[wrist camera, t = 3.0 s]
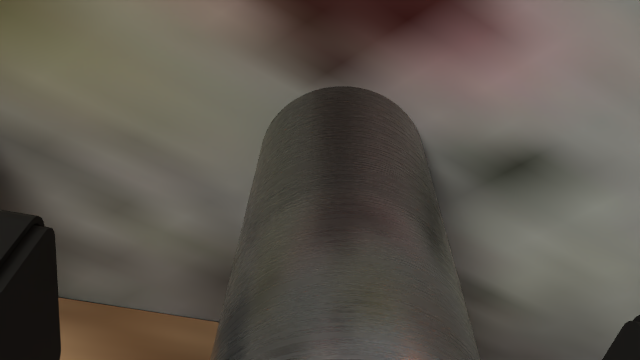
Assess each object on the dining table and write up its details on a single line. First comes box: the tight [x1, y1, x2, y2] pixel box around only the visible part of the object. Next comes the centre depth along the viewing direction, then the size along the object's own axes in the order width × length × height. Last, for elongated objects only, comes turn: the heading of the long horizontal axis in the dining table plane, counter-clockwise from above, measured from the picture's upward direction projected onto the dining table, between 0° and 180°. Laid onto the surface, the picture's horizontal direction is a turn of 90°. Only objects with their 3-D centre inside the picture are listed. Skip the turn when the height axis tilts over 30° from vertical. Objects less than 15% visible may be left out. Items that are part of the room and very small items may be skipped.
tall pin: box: [210, 87, 481, 360], centre depth 9 cm, size 4×4×12 cm
